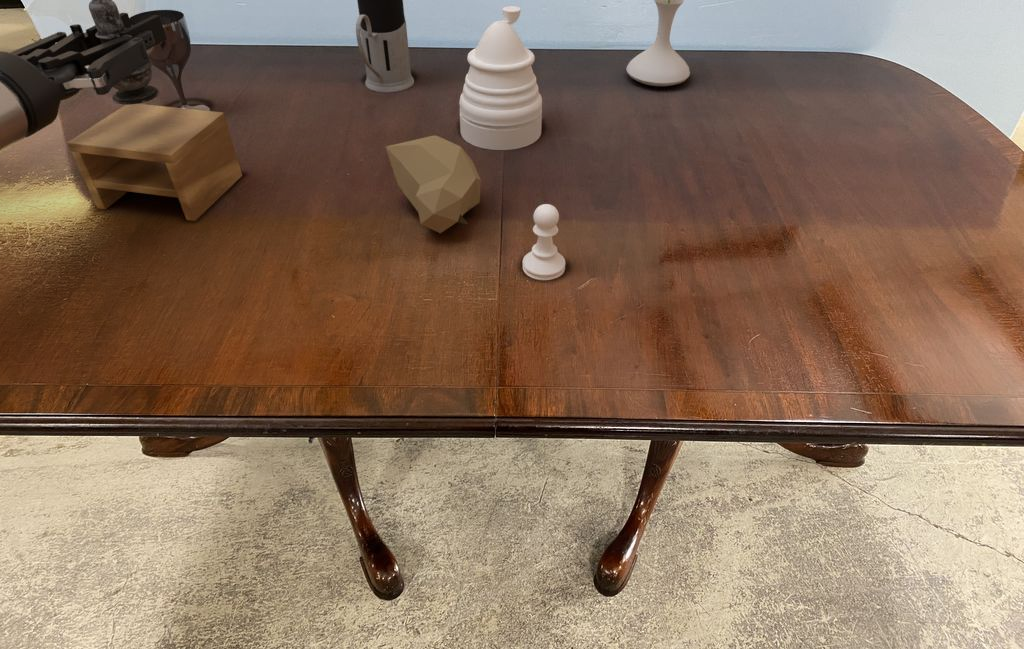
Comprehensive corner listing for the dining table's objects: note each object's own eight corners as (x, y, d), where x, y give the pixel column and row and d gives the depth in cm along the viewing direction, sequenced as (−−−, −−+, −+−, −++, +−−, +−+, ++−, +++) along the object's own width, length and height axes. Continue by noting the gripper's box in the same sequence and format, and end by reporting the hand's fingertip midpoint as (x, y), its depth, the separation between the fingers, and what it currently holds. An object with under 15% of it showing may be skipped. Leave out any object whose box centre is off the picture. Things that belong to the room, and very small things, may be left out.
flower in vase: (636, 64, 128) (656, -87, 111) (695, 74, 124) (724, -80, 107) (613, 88, 119) (631, -72, 102) (676, 100, 115) (704, -64, 99)
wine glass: (173, 102, 113) (141, 9, 103) (220, 103, 113) (192, 10, 103) (153, 123, 107) (117, 26, 97) (201, 124, 107) (170, 27, 97)
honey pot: (509, 107, 113) (510, -8, 101) (557, 135, 105) (564, 14, 93) (445, 127, 107) (437, 7, 95) (491, 158, 99) (489, 32, 87)
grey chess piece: (114, 109, 78) (69, 0, 70) (106, 92, 82) (62, -14, 74) (167, 98, 81) (129, -9, 73) (156, 82, 84) (119, -22, 76)
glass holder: (421, 75, 123) (413, -13, 113) (392, 107, 112) (380, 13, 102) (376, 71, 124) (365, -17, 114) (344, 101, 114) (328, 8, 104)
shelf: (99, 213, 87) (66, 142, 81) (154, 169, 96) (128, 102, 89) (196, 226, 85) (170, 154, 79) (243, 180, 94) (223, 112, 87)
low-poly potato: (418, 186, 94) (353, 179, 84) (456, 120, 89) (392, 105, 79) (480, 257, 88) (418, 258, 79) (525, 192, 83) (464, 184, 74)
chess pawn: (537, 254, 81) (540, 189, 75) (572, 269, 79) (578, 203, 73) (513, 275, 78) (514, 209, 72) (549, 291, 76) (553, 224, 70)
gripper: (-58, 132, 68) (96, 52, 85) (87, 148, 65) (215, 62, 82) (-103, 57, 63) (71, -12, 80) (52, 71, 60) (197, -4, 77)
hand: (144, 25), depth 81 cm, fingers closed on grey chess piece, 4 cm apart
